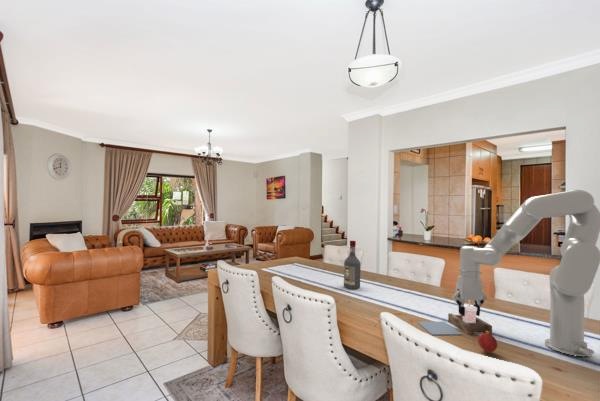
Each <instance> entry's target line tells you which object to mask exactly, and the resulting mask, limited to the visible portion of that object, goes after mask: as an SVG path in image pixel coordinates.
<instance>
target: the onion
mask: <svg viewBox="0 0 600 401" xmlns="http://www.w3.org/2000/svg"><path fill="white" fill-rule="evenodd" d="M477 343H478V345H479V347H480V348H481V349H482V350H483V351H484V352H485V353H486V354H491V353H493V352H495V351H496V350H497V348H498V342H497V340H496V338H495V337H494V336H493V334H490V333H489V331H485V333H481V334H479V336H478V339H477Z"/></svg>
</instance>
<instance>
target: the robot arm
mask: <svg viewBox="0 0 600 401" xmlns="http://www.w3.org/2000/svg"><path fill="white" fill-rule="evenodd" d="M562 216H568V217H569V222H568V223H569V224H568V227H567V231H566V233H565V236H564V239H563V242H562V244H561V246H560V248H559V249H560V254H561V260H560V263H559V264H558V265H556V266H555V267H553V268H552V269H551V270H550V273H549V289H550V292H549V294H550V297H549V298H550V300H549V302H550V303H549V304H550V306H549V308H550V309H549V312H550V313H549V315H550V317H549V318H550V319H549V322H550V323H549V338H545V340H544V344H546V345H547V346H546V345H545V346H546V347H547V348H549V347H550V348H549V349H551V348H552V349H551V350H553V349H554V350H553V351H555V350H557V351H560V352H563V353H566V354H570V355H569V356H571V355H576V356H588V358H589V357H590V358H591V357H592V355H594V354H595V351H594V350H593V349H591V348H589V347H588V342H586V341H585V294H587V293H588V292H589V291H590V289H591V287H592V284H593V283H594V280H595V277H596V274H597V272H598V269H599V265H600V249H599V248H598V247H597V241H598V240H599V236H600V210H599V209H598V207H597V206H596V205H595V199H594V197H593V195H592V194H591V193H590V192H588V191H586V190H582V189H572V190H567V191H563V192H562V191H561V192H557V193H550V194H545V195H544V194H543V195H537V196H535V195H534V196H531V197H529V198H526V200H524V201H523V203H522V204H520V205H519V207H518V208H517V209H516V210H515V212H514V213H513V214H512V215H511V216H510V217H509V218H508V219H507V220H506V222H504V224H503V225H502V226H501V227H500V229H499V230H498V231H497V233H496V234H495V235H494V236H493V237H492V238H491V239H490V241H489V242H488V243H486V244H485V246H484V247H483V248H481V247H478V246H474V245H463V246H460V248H459V249H460V251H459V252H460V253H459V255H460V256H459V275H458V276H457V279H456V285H455V293H454V294H453V295H452V296H451V298H452V299H453V301H454V302H455V303H456V304H457V305H458V315H462V316H465V307H464V305H466V304H465V303H466V302H467V301H468V302H469V301H470V302H473V303H474V304H473V306H475V307H477V311H476V317H480V316H481V308H482V305H483V304H484V303H485V301H486V300H487V299H488V298H487V296H486V295H485V294H484V291H483V290H484V289H483V283H482V278H481V277H480V276H481V275H482V274H483V273H482V271H480V270H481V268H480V267H481V266H480V265H483V266H488V267H495V266H497V265H499V264H500V262H501V261H502V257H503V256H505V254H506V253H507V252H508V251H509V250H510V249H511V248H512V247H513V246H514V245H515V244H517V243H518V242H521V240H523V239H524V238H525V237H527V236H528V234H529V233H530V232H531V231H532V230H533V229H534V228H535V227H536V226H537V225H538V224H539V222H540V221H541V220H542V219H545V218H555V217H562ZM557 351H556V352H557ZM560 352H559V353H560ZM563 353H562V354H563ZM566 354H565V355H566ZM576 356H575V357H576Z"/></svg>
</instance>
